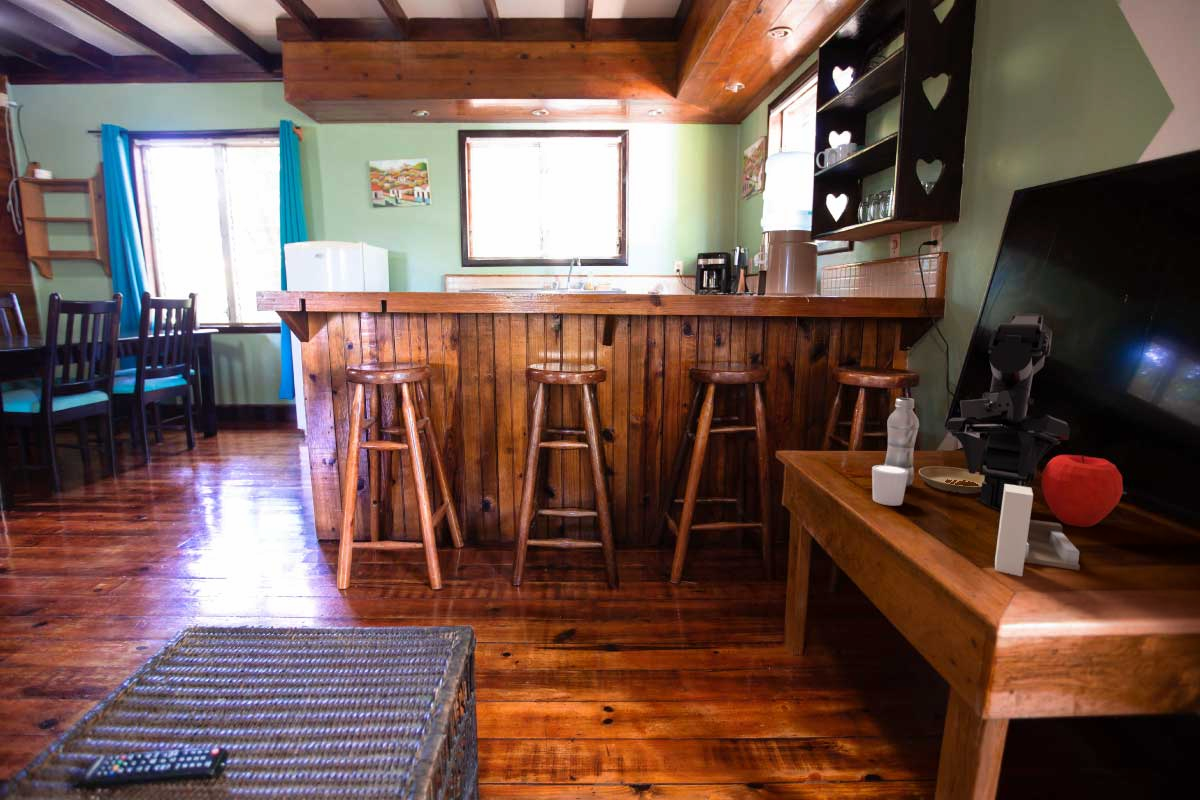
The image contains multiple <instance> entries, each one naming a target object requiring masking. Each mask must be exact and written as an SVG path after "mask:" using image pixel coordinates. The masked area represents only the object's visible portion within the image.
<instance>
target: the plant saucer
mask: <svg viewBox="0 0 1200 800" xmlns="http://www.w3.org/2000/svg"><path fill="white" fill-rule="evenodd" d="M979 473H980V471H979V472H978V471H976V473H975V474H971V473H969V471H968V469H966V468H959V467H952V466H951V467H950V466H926V467H922V468H920V469H919V470H918V475H919V476H920V477H921V478H922V480H923V481H924V482H925V483H926V484H928V486H931V487H932V488H935V489H937V488H938V489H939V490H942V491H944V492H949V491H951V493H956V492H959V493H958V494H969V493H970V494H979V493H981V488H982V482H984V477H985V475H979ZM947 479H948V480H952V481H951V482H953V481H954V480H957V481H956V482H955V483H957V482H959V481H963V480H966V481H965V482H968V481H970V482H974V483H976V484H978V485H979V486H963V485H955V483H954V484H950V483H951V482H950V483H946V482H945V481H946V480H947ZM938 489H937V490H938ZM978 492H979V493H978Z"/></svg>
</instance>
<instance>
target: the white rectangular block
mask: <svg viewBox="0 0 1200 800" xmlns="http://www.w3.org/2000/svg"><path fill="white" fill-rule="evenodd" d="M1033 499H1034V493H1033V489H1032V487H1029V486H1024V487H1023V486H1017V485H1010V484H1005V485H1004V493H1003V501H1002V509H1001V510H1000V518H999V526H998V533H997V541H996V548H995V549H996V551H995V557H994V568H995V570H994V571H995V572H1000V573H1004V574H1008V573H1009V575H1014V576H1018V577H1023V573H1024V567H1025V566H1024V564H1025V562H1024V559H1025V552H1026V544H1027V537H1028V530H1029V522H1030V520H1031V513H1032V507H1033V501H1034V500H1033Z"/></svg>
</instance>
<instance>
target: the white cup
mask: <svg viewBox="0 0 1200 800" xmlns="http://www.w3.org/2000/svg"><path fill="white" fill-rule="evenodd" d="M908 473H909V471H908V470H906V469H904V468H901V467H897V466H890V465H884V464H877V465H873V466H872V467H871V475H872V476H871V477H872V479H871V480H872V483H871V485H872V486H871V488H872V500H873V502H875V503H877V504H881V505H884V506H893V507H894V506H895V507H896V506H902V504H903V502H904V496H905V492H906V488H907V486H906V483H907V478H908Z"/></svg>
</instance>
